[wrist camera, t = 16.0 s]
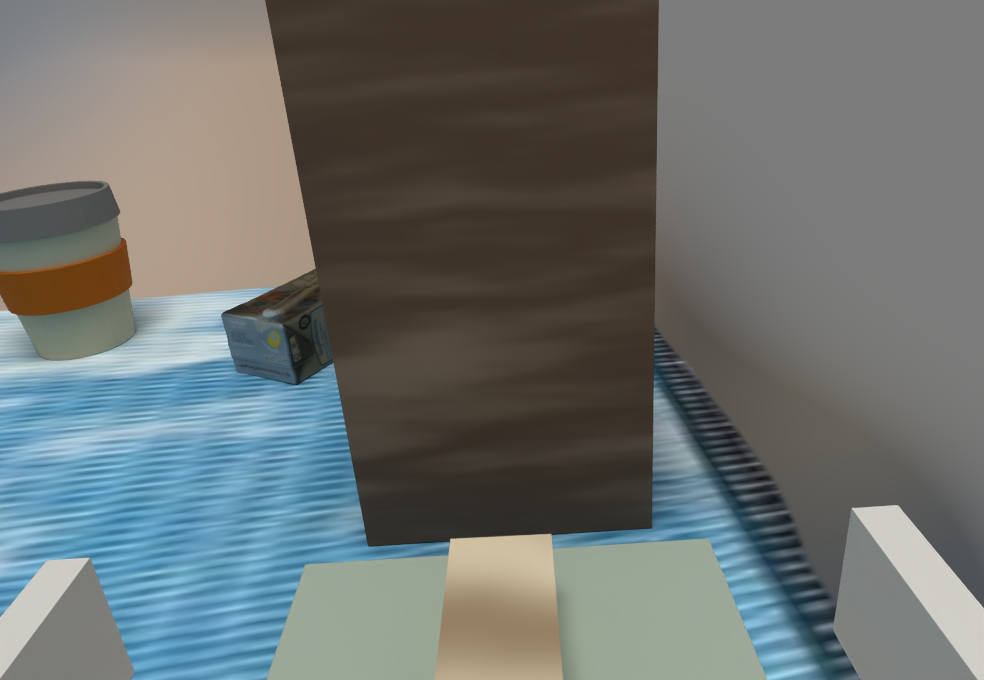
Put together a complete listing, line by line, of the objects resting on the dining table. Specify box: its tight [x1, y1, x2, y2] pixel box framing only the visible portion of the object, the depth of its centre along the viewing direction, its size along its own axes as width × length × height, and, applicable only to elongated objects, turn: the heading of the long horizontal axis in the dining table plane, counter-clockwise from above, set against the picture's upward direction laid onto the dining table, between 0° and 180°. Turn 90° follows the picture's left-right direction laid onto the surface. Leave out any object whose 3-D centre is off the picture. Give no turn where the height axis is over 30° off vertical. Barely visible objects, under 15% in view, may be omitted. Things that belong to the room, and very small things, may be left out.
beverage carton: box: [221, 269, 333, 385], centre depth 68 cm, size 8×19×7 cm, turn 150°
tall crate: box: [265, 0, 659, 546], centre depth 41 cm, size 14×16×30 cm
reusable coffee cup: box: [0, 181, 135, 360], centre depth 70 cm, size 13×12×15 cm
